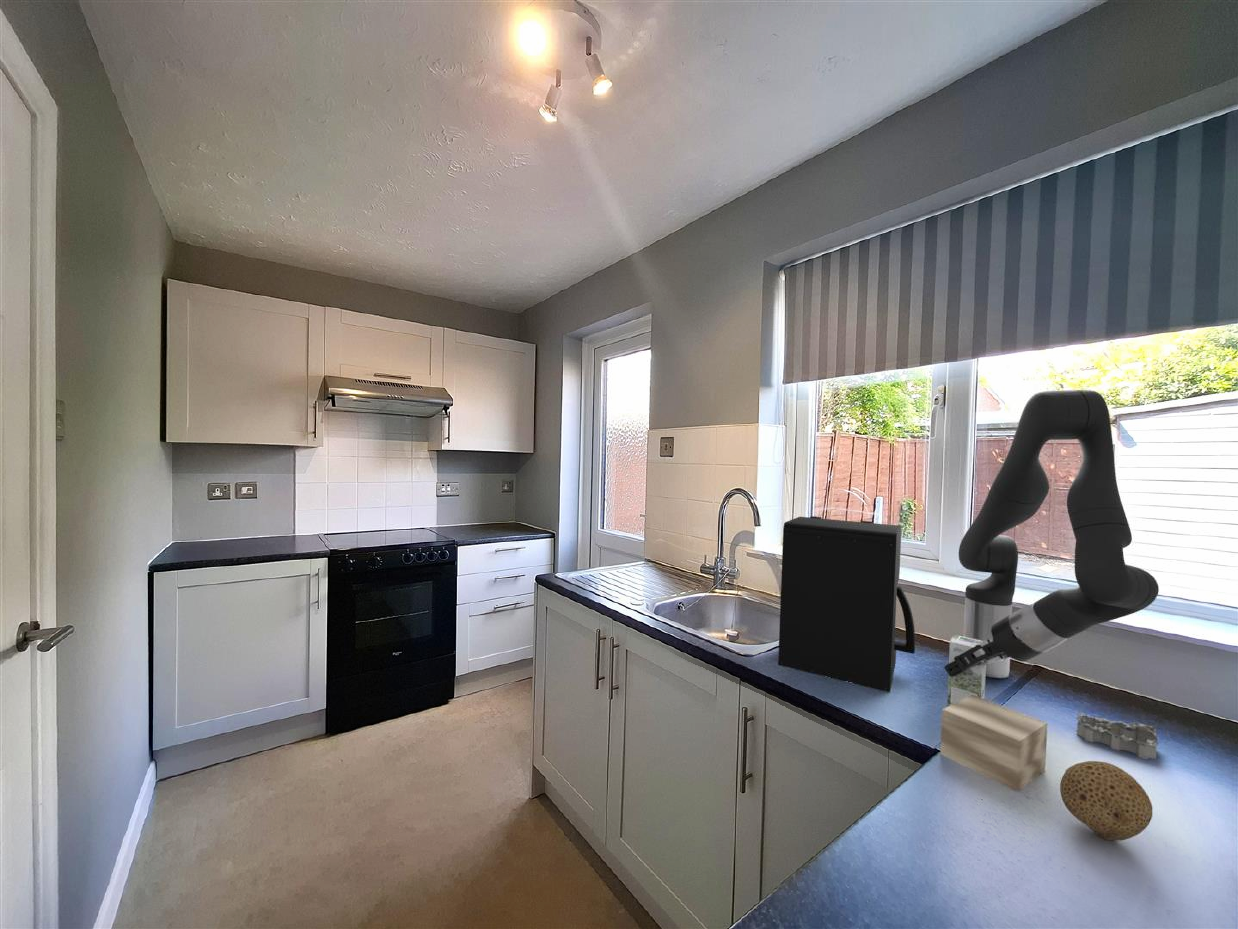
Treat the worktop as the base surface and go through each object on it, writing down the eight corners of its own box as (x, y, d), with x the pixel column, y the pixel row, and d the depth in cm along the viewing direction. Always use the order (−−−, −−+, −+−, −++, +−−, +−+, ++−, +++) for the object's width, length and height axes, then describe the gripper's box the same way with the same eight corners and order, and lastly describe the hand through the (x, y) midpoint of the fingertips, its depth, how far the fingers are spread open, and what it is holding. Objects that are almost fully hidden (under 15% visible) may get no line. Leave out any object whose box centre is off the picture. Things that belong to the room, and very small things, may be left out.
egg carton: (1158, 749, 90) (1159, 727, 90) (1156, 766, 85) (1158, 742, 85) (1078, 724, 98) (1079, 703, 98) (1072, 737, 93) (1074, 716, 93)
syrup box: (984, 711, 102) (988, 640, 101) (980, 722, 97) (983, 648, 97) (951, 701, 105) (954, 633, 105) (945, 711, 101) (949, 640, 101)
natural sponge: (1128, 873, 62) (1132, 794, 62) (1043, 823, 70) (1046, 753, 70) (1163, 852, 66) (1167, 777, 65) (1078, 807, 74) (1082, 740, 74)
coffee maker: (914, 667, 122) (921, 525, 122) (911, 698, 106) (918, 534, 105) (796, 641, 138) (801, 514, 137) (777, 665, 121) (783, 521, 120)
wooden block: (970, 737, 92) (972, 694, 92) (1045, 770, 83) (1047, 722, 83) (940, 755, 86) (942, 709, 86) (1017, 792, 77) (1019, 741, 77)
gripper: (1033, 609, 97) (968, 646, 108) (992, 617, 91) (926, 656, 101) (1066, 645, 93) (994, 680, 103) (1024, 657, 86) (952, 693, 97)
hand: (960, 668), depth 102 cm, fingers open, 8 cm apart
